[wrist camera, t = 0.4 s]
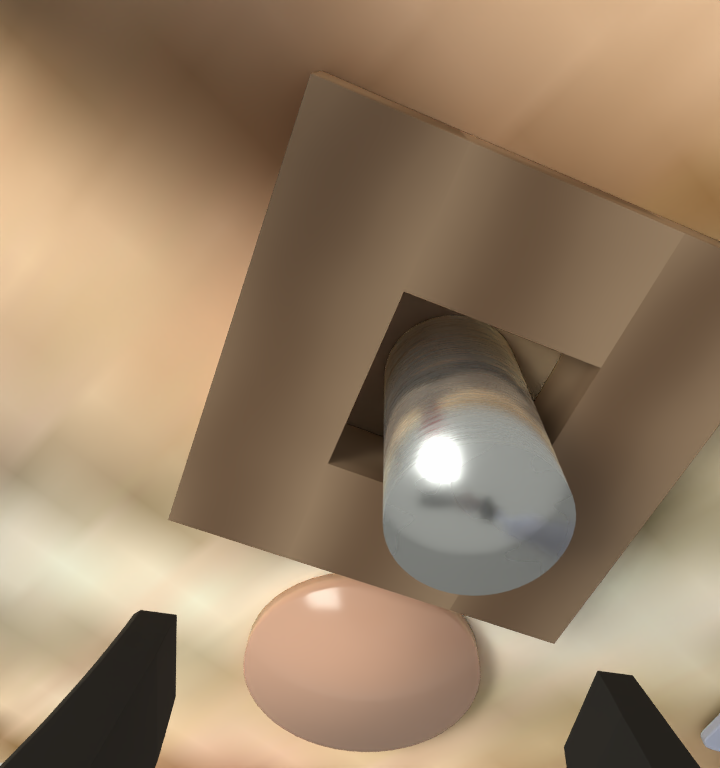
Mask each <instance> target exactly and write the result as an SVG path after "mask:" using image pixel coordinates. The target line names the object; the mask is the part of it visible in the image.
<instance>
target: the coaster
mask: <svg viewBox="0 0 720 768" xmlns="http://www.w3.org/2000/svg"><path fill="white" fill-rule="evenodd" d="M244 676H245V680H246V684H247V687H248V689H249V692H250V694H251V696H252V697H253V699H254V701H255V702H256V704H257V705H258V706H259V708H260V709H261V710H262V711H263V712H264V713H265V714H266V715H267V716H268V717H269V718H270V719H271V720H272V721H273V722H275V723H276V724H277V725H279V726H280V727H282V728H283V729H285V730H286V731H288V732H290V733H292V734H294V735H295V736H297V737H300V738H302V739H304V740H307V741H309V742H312V743H315V744H318V745H321V746H325V747H329V748H334V749H339V750H346V751H358V752H379V751H388V750H395V749H400V748H405V747H409V746H412V745H416V744H419V743H421V742H424V741H426V740H429V739H431V738H433V737H435V736H437V735H439V734H441V733H442V732H444V731H445V730H447V729H448V728H450V727H451V726H453V725H454V724H455V723H456V722H457V721H458V720H459V719H460V718H461V717H462V716H463V715H464V714H465V713H466V711H467V710H468V709H469V707H470V706H471V704H472V702H473V701H474V699H475V696H476V694H477V691H478V688H479V682H480V664H479V657H478V650H477V645H476V640H475V637H474V635H473V632H472V630H471V628H470V626H469V625H468V623H467V621H466V620H465V618H464V617H463V616H462V615H461V614H460V613H457V612H454V611H451V610H447V609H444V608H441V607H438V606H435V605H432V604H429V603H426V602H423V601H419V600H416V599H413V598H410V597H407V596H404V595H401V594H398V593H395V592H391V591H388V590H385V589H382V588H379V587H376V586H373V585H370V584H367V583H363V582H360V581H357V580H354V579H351V578H348V577H345V576H342V575H339V574H328V575H324V576H320V577H316V578H312V579H309V580H307V581H304V582H301V583H299V584H297V585H295V586H293V587H291V588H289V589H287V590H285V591H284V592H282V593H281V594H279V595H278V596H277V597H275V598H274V599H273V600H272V601H271V602H270V603H269V604H268V605H266V606H265V608H264V609H263V610H262V611H261V613H260V614H259V615H258V617H257V619H256V620H255V622H254V624H253V626H252V629H251V632H250V635H249V638H248V643H247V647H246V651H245V657H244Z"/></svg>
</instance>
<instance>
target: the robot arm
mask: <svg viewBox="0 0 720 768" xmlns="http://www.w3.org/2000/svg"><path fill="white" fill-rule="evenodd" d="M176 626H177V615H174V614H166V613H158V612H151V611H143V610H140V611H138V612H137V613H135V614H134V615H133V616H132V618H131V619H130V620H129V622H128V623H127V624H126V626H125V627H124V628H123V629H122V631H121V632H120V633H119V635H118V636H117V637H116V638H115V640H114V641H113V642H112V643H111V645H110V646H109V647H108V648H107V650H106V651H105V652H104V653H103V654H102V656H101V657H100V658H99V659H98V660H97V662H96V663H95V664H94V665H93V666H92V668H91V669H90V670H89V671H88V672H87V673H86V675H85V676H84V677H83V678H82V679H81V680H80V682H79V683H78V684H77V685H76V686H75V687H74V688H73V689H72V691H71V692H70V693H69V694H68V695H67V696H66V697H65V698H64V699H63V701H62V702H61V703H60V704H59V705H58V706H57V707H56V708H55V709H54V711H53V712H52V713H51V714H50V715H49V716H48V717H47V718H46V719H45V721H44V722H43V723H42V724H41V725H40V726H39V727H38V728H37V729H36V730H35V731H34V732H33V733H32V734H31V735H30V736H29V737H28V738H27V739H26V740H25V741H24V742H23V743H22V744H21V745H20V746H19V747H18V748H17V749H16V751H15V752H14V753H13V754H12V755H11V756H10V757H9V758H8V759H7V760H6V761H5V762H4V763H3V764H2V765H1V766H0V768H155V766H156V763H157V761H158V757H159V754H160V750H161V747H162V743H163V740H164V737H165V733H166V729H167V726H168V722H169V719H170V715H171V711H172V708H173V704H174V700H175V697H176ZM701 739H702V741H703V743H704V745H705V746H706V747H707V748H710V749H713V750H716V751H719V752H720V714H719V715H718V716H717V717H716V718H715V719H714V720H713V721H712V722H711V723H710V724H709V725H708V726H707V727H706V728H705V729H704V730H703V731H702V733H701ZM564 750H565V758H566V765H567V768H700V766H699V765H698V764H697V762H696V761H695V760H694V758H693V757H692V756H691V754H690V753H689V752H688V750H687V749H686V748H685V746H684V745H683V744H682V742H681V741H680V739H679V738H678V737H677V735H676V734H675V733H674V731H673V730H672V729H671V727H670V726H669V724H668V723H667V722H666V720H665V719H664V718H663V716H662V715H661V713H660V712H659V711H658V709H657V708H656V707H655V705H654V704H653V702H652V701H651V700H650V698H649V697H648V696H647V694H646V693H645V691H644V690H643V689H642V687H641V686H640V685H639V683H638V682H637V681H636V679H635V678H634V677H633V675H625V674H617V673H610V672H602V671H597V673H596V676H595V678H594V680H593V682H592V685H591V687H590V689H589V691H588V694H587V696H586V698H585V701H584V703H583V705H582V707H581V710H580V712H579V714H578V716H577V719H576V721H575V723H574V726H573V728H572V730H571V732H570V735H569V737H568V739H567V742H566V744H565V746H564Z"/></svg>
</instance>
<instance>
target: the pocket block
mask: <svg viewBox="0 0 720 768" xmlns="http://www.w3.org/2000/svg"><path fill="white" fill-rule="evenodd" d="M403 292H406V293H409V294H412V295H414V296H417V297H419V298H422V299H424V300H427V301H430V302H432V303H435V304H437V305H440V306H442V307H445V308H448V309H450V310H453V311H455V312H458V313H460V314H463V315H466V316H468V317H471V318H473V319H476V320H479V321H481V322H484V323H486V324H489V325H491V326H494V327H497V328H499V329H502V330H504V331H507V332H509V333H512V334H515V335H517V336H520V337H522V338H525V339H527V340H530V341H533V342H535V343H538V344H540V345H543V346H545V347H548V348H551V349H553V350H556V351H558V352H561V353H563V354H562V355H561V357H560V359H559V361H558V362H557V364H556V366H555V367H554V369H553V371H552V372H551V374H550V376H549V378H548V379H547V381H546V383H545V384H544V386H543V388H542V389H541V391H540V393H539V395H538V396H537V398H536V400H535V401H534V404H535V407H536V409H537V412H538V414H539V416H540V419H541V421H542V424H543V426H544V428H545V431H546V433H547V435H548V438H549V440H550V443H551V445H552V447H553V450H554V452H555V455H556V457H557V459H558V462H559V464H560V466H561V469H562V471H563V474H564V476H565V478H566V481H567V483H568V486H569V488H570V490H571V493H572V495H573V499H574V503H575V509H576V522H575V528H574V532H573V536H572V538H571V541H570V543H569V545H568V547H567V548H566V550H565V552H564V553H563V555H562V556H561V557H560V558H559V560H558V561H557V562H556V563H555V564H554V565H553V566H552V567H551V568H550V569H549V570H548V571H546V572H545V573H544V574H542V575H541V576H540V577H538V578H536V579H535V580H533V581H531V582H529V583H527V584H525V585H523V586H521V587H518V588H515V589H512V590H510V591H506V592H502V593H497V594H490V595H478V596H470V595H458V594H452V593H447V592H444V591H440V590H437V589H434V588H432V587H429V586H427V585H425V584H423V583H421V582H419V581H418V580H416V579H415V578H413V577H412V576H410V575H409V574H408V573H407V572H406V571H405V570H404V569H402V568H401V566H400V565H399V564H398V563H397V562H396V561H395V559H394V557H393V556H392V554H391V553H390V551H389V548H388V546H387V544H386V541H385V537H384V532H383V453H384V437H382V436H379V435H376V434H374V433H371V432H368V431H365V430H362V429H359V428H357V427H354V426H351V425H348V424H346V422H347V419H348V417H349V415H350V412H351V410H352V408H353V406H354V403H355V401H356V399H357V397H358V394H359V392H360V390H361V388H362V385H363V383H364V381H365V378H366V376H367V374H368V372H369V369H370V367H371V365H372V363H373V360H374V358H375V356H376V354H377V351H378V349H379V347H380V345H381V342H382V340H383V338H384V335H385V333H386V331H387V329H388V326H389V324H390V322H391V320H392V317H393V315H394V313H395V311H396V308H397V306H398V304H399V301H400V299H401V297H402V295H403ZM719 424H720V241H717V240H715V239H713V238H710V237H708V236H706V235H703V234H701V233H699V232H696V231H694V230H692V229H689V228H687V227H685V226H682V225H680V224H678V223H675V222H673V221H671V220H668V219H666V218H664V217H661V216H659V215H657V214H654V213H652V212H650V211H647V210H645V209H643V208H640V207H638V206H636V205H633V204H631V203H629V202H626V201H624V200H622V199H619V198H617V197H615V196H612V195H610V194H608V193H605V192H603V191H601V190H598V189H596V188H594V187H592V186H589V185H587V184H585V183H582V182H580V181H578V180H575V179H573V178H571V177H568V176H566V175H564V174H561V173H559V172H557V171H554V170H552V169H550V168H547V167H545V166H543V165H540V164H538V163H536V162H533V161H531V160H529V159H526V158H524V157H522V156H519V155H517V154H515V153H512V152H510V151H508V150H505V149H503V148H501V147H498V146H496V145H494V144H491V143H489V142H487V141H484V140H482V139H480V138H477V137H475V136H473V135H470V134H468V133H466V132H463V131H461V130H459V129H456V128H454V127H452V126H449V125H447V124H445V123H442V122H440V121H438V120H435V119H433V118H431V117H428V116H426V115H424V114H421V113H419V112H417V111H414V110H412V109H410V108H407V107H405V106H403V105H400V104H398V103H396V102H393V101H391V100H389V99H386V98H384V97H382V96H379V95H377V94H375V93H372V92H370V91H368V90H365V89H363V88H361V87H358V86H356V85H354V84H351V83H349V82H347V81H344V80H342V79H340V78H337V77H335V76H333V75H331V74H328V73H326V72H324V71H318V72H314V73H311V74H310V77H309V81H308V84H307V87H306V90H305V93H304V96H303V99H302V102H301V106H300V109H299V112H298V115H297V118H296V121H295V124H294V128H293V131H292V134H291V137H290V140H289V143H288V146H287V149H286V153H285V156H284V159H283V162H282V165H281V168H280V171H279V174H278V178H277V181H276V184H275V187H274V190H273V193H272V196H271V200H270V203H269V206H268V209H267V212H266V215H265V218H264V221H263V225H262V228H261V231H260V234H259V237H258V240H257V243H256V247H255V250H254V253H253V256H252V259H251V262H250V265H249V268H248V272H247V275H246V278H245V281H244V284H243V287H242V290H241V294H240V297H239V300H238V303H237V306H236V309H235V312H234V315H233V319H232V322H231V325H230V328H229V331H228V334H227V337H226V340H225V344H224V347H223V350H222V353H221V356H220V359H219V362H218V366H217V369H216V372H215V375H214V378H213V381H212V384H211V387H210V391H209V394H208V397H207V400H206V403H205V406H204V409H203V413H202V416H201V419H200V422H199V425H198V428H197V431H196V434H195V438H194V441H193V444H192V447H191V450H190V453H189V456H188V459H187V463H186V466H185V469H184V472H183V475H182V478H181V481H180V485H179V488H178V491H177V494H176V497H175V500H174V503H173V506H172V510H171V513H170V516H169V519H168V520H170V521H174V522H177V523H180V524H183V525H186V526H189V527H192V528H195V529H198V530H202V531H205V532H208V533H211V534H214V535H217V536H220V537H223V538H226V539H230V540H233V541H236V542H239V543H242V544H245V545H248V546H251V547H255V548H258V549H261V550H264V551H267V552H270V553H273V554H276V555H279V556H283V557H286V558H289V559H292V560H295V561H298V562H301V563H304V564H307V565H311V566H314V567H317V568H320V569H323V570H326V571H329V572H332V573H335V574H339V575H342V576H345V577H348V578H351V579H354V580H357V581H360V582H363V583H367V584H370V585H373V586H376V587H379V588H382V589H385V590H388V591H391V592H395V593H398V594H401V595H404V596H407V597H410V598H413V599H416V600H419V601H423V602H426V603H429V604H432V605H435V606H438V607H441V608H444V609H447V610H451V611H454V612H457V613H460V614H463V615H466V616H469V617H472V618H476V619H479V620H482V621H485V622H488V623H491V624H494V625H497V626H500V627H504V628H507V629H510V630H513V631H516V632H519V633H522V634H525V635H528V636H532V637H535V638H538V639H541V640H544V641H547V642H550V643H553V644H554V643H555V642H556V641H557V639H558V638H559V637H560V635H561V634H562V633H563V631H564V630H565V629H566V627H567V626H568V625H569V623H570V622H571V621H572V619H573V618H574V617H575V615H576V614H577V613H578V611H579V610H580V609H581V607H582V606H583V605H584V603H585V602H586V601H587V600H588V598H589V597H590V596H591V594H592V593H593V592H594V590H595V589H596V588H597V586H598V585H599V584H600V582H601V581H602V580H603V578H604V577H605V576H606V574H607V573H608V572H609V570H610V569H611V568H612V566H613V565H614V564H615V562H616V561H617V560H618V558H619V557H620V556H621V554H622V553H623V552H624V550H625V549H626V548H627V546H628V545H629V544H630V542H631V541H632V540H633V538H634V537H635V536H636V534H637V533H638V532H639V531H640V529H641V528H642V527H643V525H644V524H645V523H646V521H647V520H648V519H649V517H650V516H651V515H652V513H653V512H654V511H655V509H656V508H657V507H658V505H659V504H660V503H661V501H662V500H663V499H664V497H665V496H666V495H667V493H668V492H669V491H670V489H671V488H672V487H673V485H674V484H675V483H676V481H677V480H678V479H679V477H680V476H681V475H682V473H683V472H684V471H685V469H686V468H687V467H688V466H689V464H690V463H691V462H692V460H693V459H694V458H695V456H696V455H697V454H698V452H699V451H700V450H701V448H702V447H703V446H704V444H705V443H706V442H707V440H708V439H709V438H710V436H711V435H712V434H713V432H714V431H715V430H716V428H717V427H718V426H719Z"/></svg>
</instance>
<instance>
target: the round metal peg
mask: <svg viewBox="0 0 720 768" xmlns="http://www.w3.org/2000/svg"><path fill="white" fill-rule="evenodd" d="M575 522H576V509H575V503H574V499H573V495H572V493H571V490H570V488H569V486H568V483H567V481H566V478H565V476H564V474H563V471H562V469H561V466H560V464H559V462H558V459H557V457H556V455H555V452H554V450H553V447H552V445H551V443H550V440H549V438H548V435H547V433H546V431H545V428H544V426H543V424H542V421H541V419H540V416H539V414H538V412H537V409H536V407H535V404H534V402H533V400H532V397H531V395H530V392H529V390H528V388H527V385H526V383H525V381H524V378H523V376H522V373H521V371H520V369H519V366H518V364H517V361H516V359H515V357H514V354H513V352H512V350H511V348H510V346H509V344H508V343H507V341H506V340H505V338H504V337H503V336H502V335H501V334H500V333H499V332H498V331H497V330H496V329H494V328H493V327H491V326H490V325H488V324H486V323H484V322H481V321H479V320H476V319H473V318H471V317H467V316H460V315H447V316H439V317H434V318H431V319H428V320H425V321H423V322H421V323H419V324H417V325H416V326H414V327H412V328H411V329H409V330H408V331H407V332H406V333H404V334H403V335H402V336H401V338H400V339H399V340H398V341H397V342H396V344H395V345H394V346H393V348H392V350H391V352H390V354H389V356H388V359H387V362H386V366H385V374H384V453H383V532H384V537H385V541H386V544H387V546H388V548H389V551H390V553H391V554H392V556H393V557H394V559H395V561H396V562H397V563H398V564H399V565H400V566H401V568H402V569H404V570H405V571H406V572H407V573H408V574H409V575H410V576H412V577H413V578H415V579H416V580H418V581H419V582H421V583H423V584H425V585H427V586H429V587H432V588H434V589H437V590H440V591H444V592H447V593H452V594H458V595H470V596H478V595H490V594H497V593H502V592H506V591H510V590H512V589H515V588H518V587H521V586H523V585H525V584H527V583H529V582H531V581H533V580H535V579H536V578H538V577H540V576H541V575H542V574H544V573H545V572H546V571H548V570H549V569H550V568H551V567H552V566H553V565H554V564H555V563H556V562H557V561H558V560H559V558H560V557H561V556H562V555H563V553H564V552H565V550H566V548H567V547H568V545H569V543H570V541H571V538H572V536H573V532H574V528H575Z"/></svg>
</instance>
